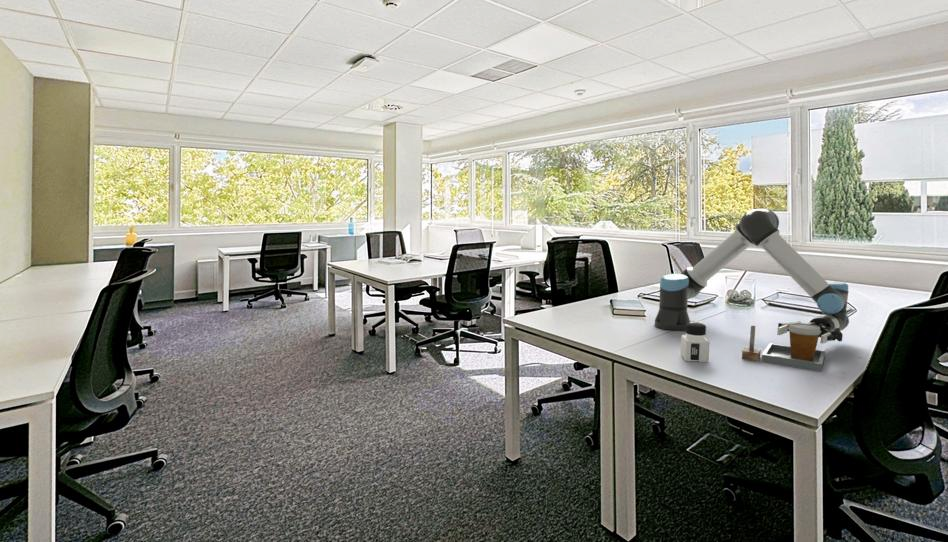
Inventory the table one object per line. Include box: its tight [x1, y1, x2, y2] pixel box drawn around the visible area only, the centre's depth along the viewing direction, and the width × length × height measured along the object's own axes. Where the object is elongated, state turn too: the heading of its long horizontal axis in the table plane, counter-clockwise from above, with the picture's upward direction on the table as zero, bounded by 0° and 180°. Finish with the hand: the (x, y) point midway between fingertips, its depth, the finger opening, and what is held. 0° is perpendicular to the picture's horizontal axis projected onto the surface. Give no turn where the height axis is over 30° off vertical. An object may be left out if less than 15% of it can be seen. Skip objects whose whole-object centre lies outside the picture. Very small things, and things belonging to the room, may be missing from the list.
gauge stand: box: [741, 324, 761, 362], centre depth 168 cm, size 5×5×12 cm
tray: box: [761, 342, 826, 372], centre depth 167 cm, size 17×17×3 cm
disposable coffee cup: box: [788, 322, 821, 361], centre depth 165 cm, size 10×10×12 cm
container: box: [680, 321, 711, 363], centre depth 169 cm, size 8×8×13 cm
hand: (799, 335), depth 168 cm, fingers open, 13 cm apart
